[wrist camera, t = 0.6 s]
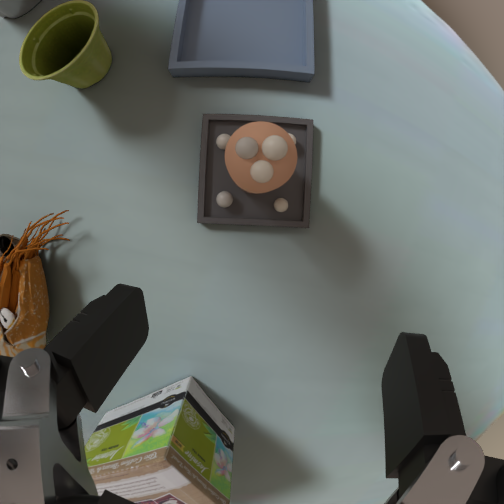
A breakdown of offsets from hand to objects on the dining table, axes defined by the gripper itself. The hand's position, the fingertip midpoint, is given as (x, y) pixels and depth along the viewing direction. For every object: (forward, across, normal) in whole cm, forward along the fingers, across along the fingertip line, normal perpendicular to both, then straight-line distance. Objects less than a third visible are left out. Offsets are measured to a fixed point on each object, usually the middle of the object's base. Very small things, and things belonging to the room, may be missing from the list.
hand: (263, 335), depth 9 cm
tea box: (+13, +13, +30) cm, 35 cm away
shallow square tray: (+29, +8, -16) cm, 34 cm away
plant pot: (+24, +26, -12) cm, 37 cm away
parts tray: (+24, +5, 0) cm, 25 cm away
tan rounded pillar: (+24, +5, 0) cm, 24 cm away
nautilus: (+14, +31, +13) cm, 36 cm away
